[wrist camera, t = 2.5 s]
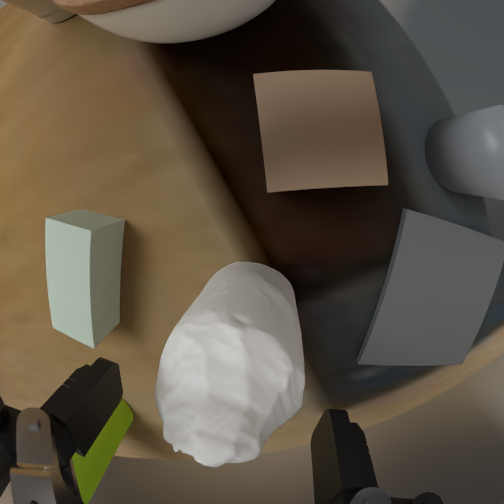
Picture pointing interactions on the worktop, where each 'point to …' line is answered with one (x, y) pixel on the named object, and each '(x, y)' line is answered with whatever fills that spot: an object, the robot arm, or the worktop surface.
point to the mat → (432, 294)
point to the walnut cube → (320, 129)
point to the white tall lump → (232, 366)
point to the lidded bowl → (166, 17)
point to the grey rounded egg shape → (469, 152)
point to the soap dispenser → (101, 451)
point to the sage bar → (84, 273)
